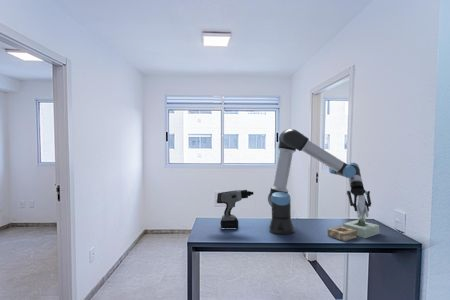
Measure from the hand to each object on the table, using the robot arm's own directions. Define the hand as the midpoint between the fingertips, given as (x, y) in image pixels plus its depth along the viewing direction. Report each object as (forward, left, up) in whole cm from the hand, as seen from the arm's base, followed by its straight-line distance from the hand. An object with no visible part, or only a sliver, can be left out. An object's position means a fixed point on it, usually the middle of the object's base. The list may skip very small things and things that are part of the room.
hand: (363, 215), depth 160 cm
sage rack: (-3, +2, -11) cm, 12 cm away
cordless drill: (-55, -54, -11) cm, 78 cm away
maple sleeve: (-5, -13, -11) cm, 18 cm away
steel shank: (-3, +3, -7) cm, 8 cm away
